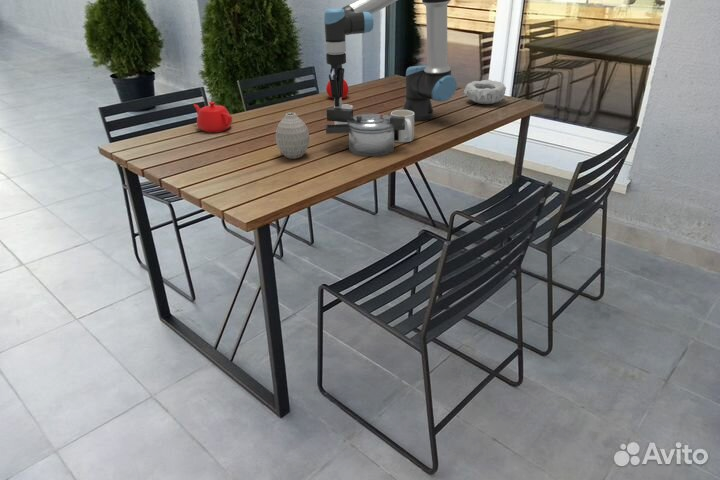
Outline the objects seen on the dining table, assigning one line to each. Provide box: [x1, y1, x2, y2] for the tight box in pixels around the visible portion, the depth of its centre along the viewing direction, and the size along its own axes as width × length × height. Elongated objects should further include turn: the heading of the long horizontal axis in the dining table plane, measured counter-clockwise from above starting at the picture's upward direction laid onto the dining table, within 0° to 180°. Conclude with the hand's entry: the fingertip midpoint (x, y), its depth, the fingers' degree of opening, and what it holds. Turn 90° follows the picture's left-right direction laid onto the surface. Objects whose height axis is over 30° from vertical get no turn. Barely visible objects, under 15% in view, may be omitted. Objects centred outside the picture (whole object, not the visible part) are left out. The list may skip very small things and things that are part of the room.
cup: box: [333, 103, 354, 125], centre depth 241 cm, size 8×12×10 cm
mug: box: [390, 109, 415, 143], centre depth 225 cm, size 10×12×11 cm
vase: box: [275, 112, 310, 160], centre depth 209 cm, size 13×13×17 cm
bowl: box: [463, 79, 507, 105], centre depth 274 cm, size 21×20×10 cm
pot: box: [325, 124, 405, 157], centre depth 216 cm, size 31×19×10 cm, turn 96°
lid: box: [326, 107, 405, 131], centre depth 213 cm, size 31×19×5 cm, turn 72°
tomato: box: [326, 79, 350, 100], centre depth 288 cm, size 12×12×10 cm
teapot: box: [193, 101, 233, 133], centre depth 244 cm, size 25×16×12 cm, turn 53°
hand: (338, 113), depth 219 cm, fingers closed
